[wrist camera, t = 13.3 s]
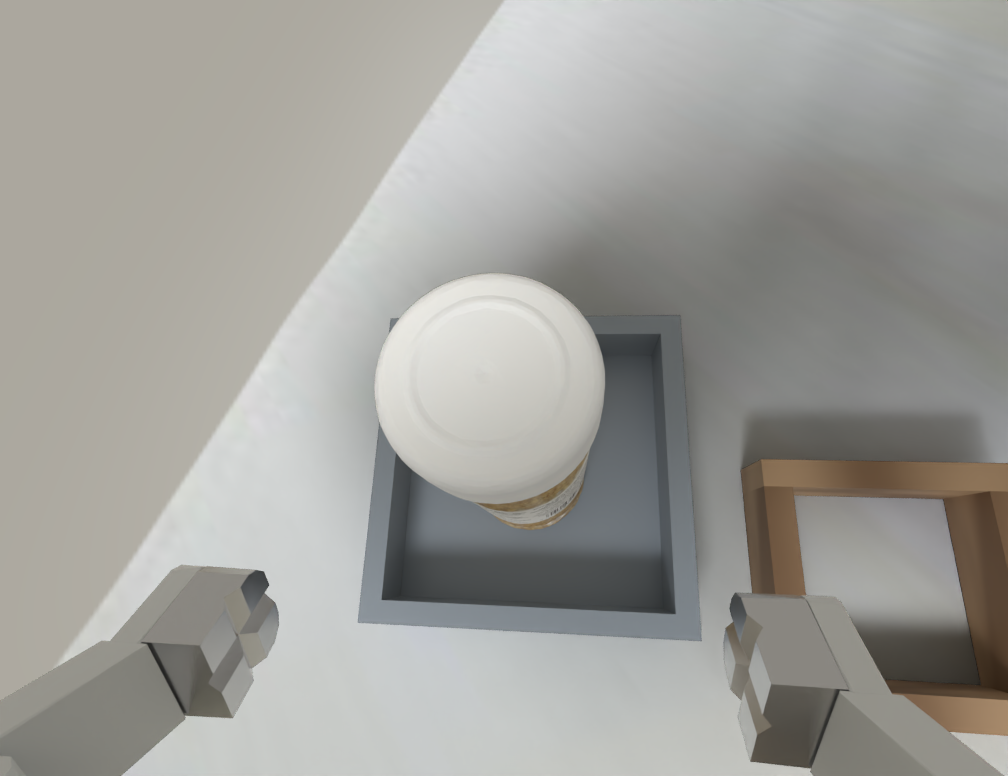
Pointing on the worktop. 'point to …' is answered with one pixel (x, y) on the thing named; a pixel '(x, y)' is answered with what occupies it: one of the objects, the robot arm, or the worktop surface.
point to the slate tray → (570, 542)
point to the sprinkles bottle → (494, 395)
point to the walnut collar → (976, 542)
